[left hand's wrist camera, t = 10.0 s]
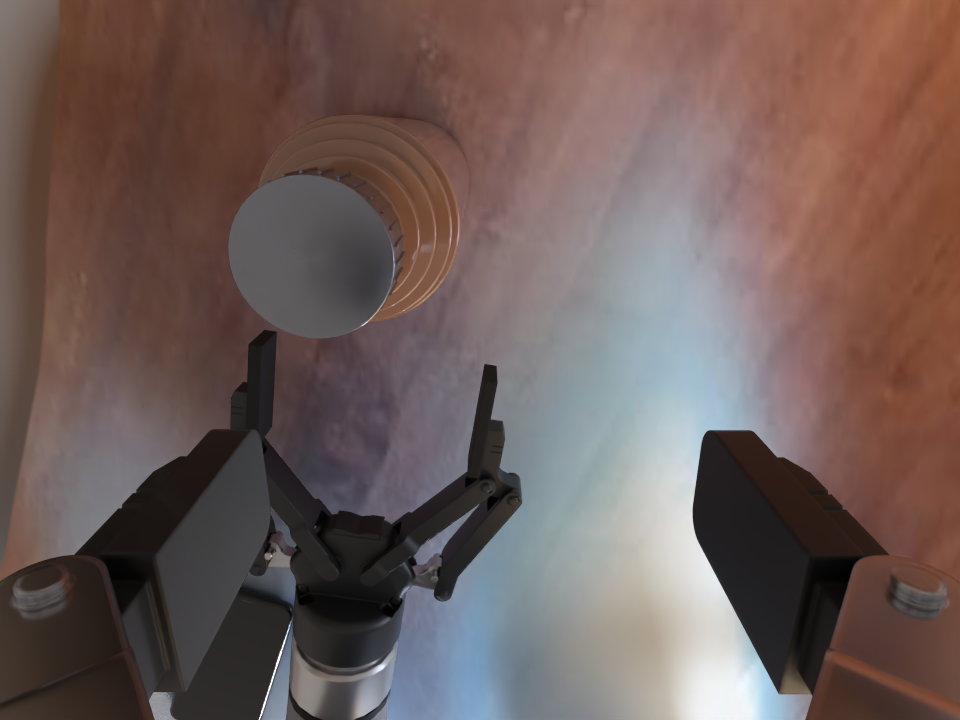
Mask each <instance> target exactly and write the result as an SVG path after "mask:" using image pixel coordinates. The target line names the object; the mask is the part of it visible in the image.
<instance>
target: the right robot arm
mask: <svg viewBox="0 0 960 720" xmlns="http://www.w3.org/2000/svg"><path fill="white" fill-rule="evenodd" d="M276 337H277V332H275V331H268V330H264V331H263V332H262V333H261V334H259V335H258V336H257V337H256V338H255V339H254V340H253V341H252V342H251V343H250V344H249V350H248V379H247V382H243V383H242V384H241V385H240V386H239V387H238V388H237V389H236V390H235V391H234V393H233V395H232V397H231V427H230V429H254V430H256V431H257V432H258V433H259V435H260V438H261V442H262V448H263V456H264V463H265V470H266V477H267V485H268V492H269V499H270V505H271V507H272V508H273V509H274V510H275V511H276V513H277V514H278V515H279V516H280V517H281V519H282V520H283V521H284V522H285V523H286V524H287V526H288V527H289V529H290V535H291V537H292V539H293V540H294V541H295V543H296V544H297V546H296V547H295V548H293V547H290V546H288V545H287V544H286V543H285V541H284V538H283V533H282V532H280V531H276V529H275V524H274V521H273V518H272V516H271V514H270V524H269V530H268V534H267V537H266V539H265V541H264V543H263V545H262V547H261V549H260V551H259V553H258V555H257V557H256V559H255V561H254V562H253V564H252V566H251V568H250V570H249V572H250V573H251V574H252V575H255V576H261V575H263V574H264V573H265V572H266V570H267V568H268V567H279V568H290V569H291V571H292V573H293V574H294V576H295V579H296V590H295V604H294V618H293V635H292V645H291V662H290V677H289V695H288V705H287V714H286V720H386V719H387V711H388V702H389V694H390V690H391V686H392V681H393V675H394V668H395V662H396V655H397V649H398V637H399V634H400V629H401V622H402V615H403V609H404V602H405V596H406V592H407V591H408V590H409V588H410V587H411V586H412V585H415V586H419V587H424V588H428V589H432V590H434V597H435V598H436V599H437V600H439V601H447V600H449V599H450V598H451V596H452V593H453V590H454V587H455V584H456V581H457V578H458V576H459V575H460V574H461V573H462V572H463V571H464V569H465V568H466V567H467V566H468V565H469V564H470V563H471V561H472V560H473V559H474V558H475V557H476V556H477V555H478V553H479V552H480V551H481V550H482V549H483V548H484V547H485V545H486V544H487V543H488V542H489V541H490V540H491V539H492V537H493V536H494V535H495V534H496V533H497V532H498V531H499V529H500V528H501V527H502V526H503V525H504V524H505V523H506V522H507V520H508V519H509V518H510V517H511V516H512V515H513V514H514V512H515V511H516V510H517V509H518V508H519V507H520V505H521V504H522V493H521V483H520V478H519V476H518V475H517V474H515V473H506V472H504V471H502V470H501V469H500V468H499V466H500V461H501V456H502V451H503V446H504V441H505V433H504V426H503V421H497V420H491V414H492V409H493V403H494V398H495V393H496V388H497V366H494V365H487V364H485V365H484V370H483V376H482V381H481V387H480V393H479V398H478V404H477V409H476V415H475V421H474V426H473V432H472V437H471V443H470V449H469V454H468V471H467V472H466V473H465V474H463V475H462V476H461V477H459V478H458V479H457V480H455V481H454V482H453V483H451V484H450V485H449V486H447V487H446V488H445V489H443V490H442V491H441V492H439V493H438V494H437V495H435V496H434V497H433V498H431V499H430V500H429V501H427V502H426V503H424V504H423V505H422V506H420V507H419V508H418V509H416V510H415V511H414V512H412V513H411V512H408V513H406V514H405V515H403V516H402V517H401V518H399V519H398V520H397V521H395V522H394V523H393V524H390V523H389V522H387V521H385V520H384V518H385V517H382V516H375V515H372V516H360V515H357V514H354V513H352V512H346V511H339V512H338V514H334V515H332V514H331V513H330V511H329V510H328V509H327V508H326V506H325V505H324V504H323V503H322V502H321V501H320V500H319V499H314V498H313V497H312V496H311V494H310V493H309V492H308V491H307V489H306V488H305V487H304V486H303V484H302V483H301V482H300V481H299V479H298V478H297V477H296V476H295V474H294V473H293V472H292V471H291V470H290V468H289V467H288V466H287V465H286V463H285V462H284V461H283V460H282V458H281V457H280V456H279V455H278V453H277V452H276V451H275V450H274V448H273V447H272V446H271V445H270V444H269V442H268V441H267V440H266V439H265V435H266V434H267V433H268V431H269V430H270V428H271V427H272V416H273V396H274V376H275V357H276ZM478 504H480V505H479V506H478V507H477V508H476V509H475V511H474V512H473V513H472V514H471V515H470V516H469V518H468V519H467V520H466V521H465V522H464V523H463V525H462V526H461V527H460V528H459V529H458V531H457V532H456V533H455V534H454V535H453V536H452V538H451V539H450V540H449V541H448V543H447V544H446V545H445V547H444V549H443V551H442V553H441V555H440V554H434V555H433V557H432V558H431V559H429V561H428V562H427V563H426V564H424V565H417V563H416V560H415V558H414V557H413V556H414V555H415V554H416V552H417V551H418V549H419V548H420V547H421V546H422V545H423V544H424V543H426V542H427V541H429V540H430V539H431V538H433V537H434V536H435V535H437V534H438V533H440V532H441V531H442V530H444V529H445V528H447V527H448V526H449V525H451V524H452V523H453V522H455V521H456V520H458V519H459V518H460V517H462V516H463V515H465V514H466V513H467V512H469V511H470V510H471V509H473V508H474V507H476V506H477V505H478ZM314 526H316V528H315V529H314Z"/></svg>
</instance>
